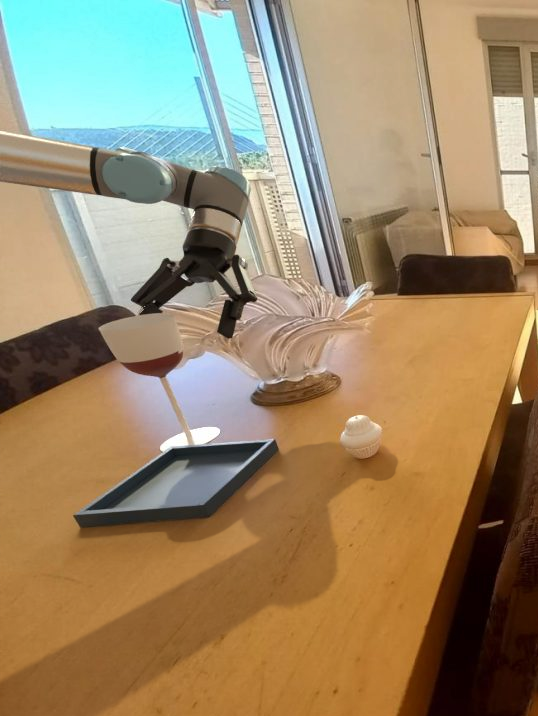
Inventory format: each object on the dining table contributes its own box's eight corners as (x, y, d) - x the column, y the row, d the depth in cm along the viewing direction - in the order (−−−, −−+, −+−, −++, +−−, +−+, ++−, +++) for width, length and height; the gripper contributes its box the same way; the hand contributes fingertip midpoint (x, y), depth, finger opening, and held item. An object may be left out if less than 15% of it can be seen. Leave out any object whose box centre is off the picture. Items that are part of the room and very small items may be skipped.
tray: (79, 527, 64) (72, 515, 63) (175, 457, 79) (170, 446, 78) (209, 517, 65) (203, 505, 64) (279, 449, 80) (275, 438, 79)
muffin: (336, 460, 76) (324, 422, 74) (367, 440, 82) (357, 404, 79) (366, 467, 74) (354, 429, 72) (395, 446, 80) (385, 410, 77)
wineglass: (218, 420, 90) (171, 309, 81) (225, 439, 84) (175, 321, 75) (156, 439, 84) (99, 322, 76) (159, 460, 78) (97, 335, 69)
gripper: (291, 247, 96) (271, 341, 88) (161, 253, 95) (129, 350, 87) (267, 223, 89) (243, 323, 81) (126, 229, 88) (88, 332, 80)
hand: (184, 337), depth 84 cm, fingers open, 13 cm apart
